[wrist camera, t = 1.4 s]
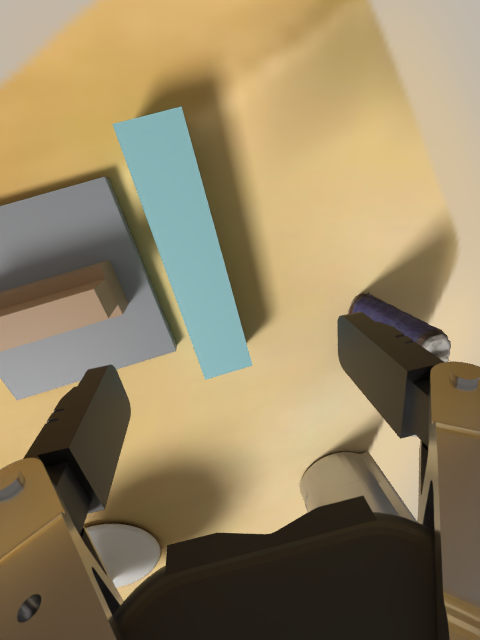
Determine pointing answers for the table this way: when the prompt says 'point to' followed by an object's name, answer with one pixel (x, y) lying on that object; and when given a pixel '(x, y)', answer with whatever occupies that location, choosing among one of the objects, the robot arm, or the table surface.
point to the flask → (404, 324)
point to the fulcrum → (73, 290)
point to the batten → (185, 236)
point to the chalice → (125, 551)
